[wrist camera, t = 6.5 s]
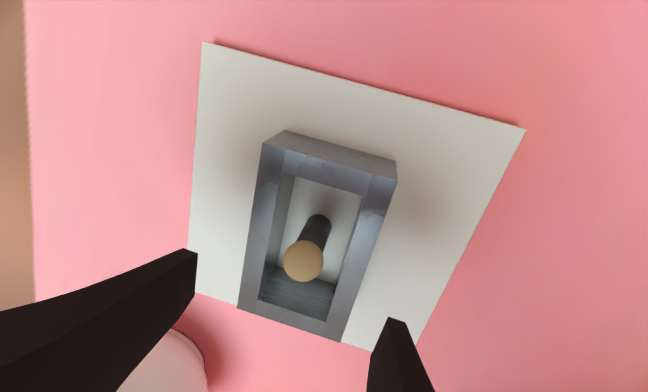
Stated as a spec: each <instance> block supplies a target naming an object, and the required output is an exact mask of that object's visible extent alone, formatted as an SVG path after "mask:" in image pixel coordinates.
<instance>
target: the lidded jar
mask: <svg viewBox="0 0 648 392" xmlns="http://www.w3.org/2000/svg"><path fill="white" fill-rule="evenodd" d="M116 392H208V386H207V379H206V375H205V371H204V359H203V356H202V354H201V352H200V350H199V349H198V347H197V346H196V345H195V344H194V343H193V342H192V341H191V340H190V339H189V338H188V337H187V336H185V335H184V334H182V333H180V332H179V331H177V330H175V329H172V328H170V329H169V331H168V332H167V333H166V334H165V335H164V336H163V337H162V339H161V340H160V341H159V342H158V343H157V344H156V345H155V347H154V348H153V349H152V350H151V351H150V352H149V353H148V355H147V356H146V357H145V358H144V359H143V360H142V361H141V362H140V364H139V365H138V366H137V367H136V368H135V369H134V370H133V372H132V373H131V374H130V375H129V376H128V377H127V379H126V380H125V381H124V382H123V384H122V385H121V386H120V387H119V388H118V390H117V391H116Z"/></svg>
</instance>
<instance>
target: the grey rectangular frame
mask: <svg viewBox="0 0 648 392" xmlns="http://www.w3.org/2000/svg"><path fill="white" fill-rule="evenodd" d="M295 176H296V177H300V178H303V179H306V180H310V181H313V182H317V183H320V184H323V185H327V186H330V187H334V188H337V189H341V190H344V191H347V192H351V193H354V194H358V195H361V196H363V197H362V200H361V203H360V206H359V210H358V213H357V216H356V219H355V222H354V225H353V229H352V232H351V235H350V238H349V241H348V245H347V248H346V251H345V254H344V257H343V260H342V264H341V267H340V270H339V273H338V276H337V280H336V283H335V284H333V283H330V282H327V281H324V280H321V279H317V278H314V279H312V280H310V281H306V282H300V281H296V280H294V279H292V278H291V277H289V275H288V274H287V273H286V271H285V269H284V268H283V267H280V266H277V262H278V258H279V253H280V248H281V243H282V238H283V234H284V229H285V224H286V219H287V215H288V210H289V205H290V200H291V195H292V191H293V186H294V181H295ZM397 182H398V177H397V167H396V161H394V160H391V159H387V158H384V157H380V156H376V155H373V154H369V153H366V152H362V151H359V150H355V149H352V148H348V147H344V146H341V145H337V144H334V143H330V142H327V141H323V140H319V139H316V138H312V137H309V136H305V135H302V134H298V133H294V132H291V131H287V130H283V131H282V132H280V133H278V134H276V135H275V136H273V137H271V138H269V139H268V140H266V141H264V142H262V147H261V154H260V160H259V167H258V173H257V180H256V186H255V193H254V199H253V206H252V212H251V219H250V225H249V232H248V238H247V244H246V251H245V257H244V264H243V270H242V277H241V283H240V290H239V296H238V303H237V308H238V309H241V310H244V311H247V312H250V313H253V314H256V315H259V316H262V317H265V318H268V319H271V320H274V321H277V322H280V323H283V324H286V325H289V326H292V327H295V328H298V329H301V330H304V331H307V332H310V333H313V334H316V335H319V336H322V337H325V338H328V339H331V340H334V341H337V342H341V339H342V336H343V333H344V330H345V328H346V325H347V322H348V319H349V317H350V314H351V311H352V308H353V305H354V303H355V300H356V297H357V294H358V291H359V289H360V286H361V283H362V280H363V277H364V275H365V272H366V269H367V266H368V263H369V261H370V258H371V255H372V252H373V249H374V247H375V244H376V241H377V238H378V235H379V233H380V230H381V227H382V224H383V222H384V219H385V216H386V213H387V210H388V208H389V205H390V202H391V199H392V196H393V194H394V191H395V188H396V185H397Z"/></svg>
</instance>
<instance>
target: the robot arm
mask: <svg viewBox="0 0 648 392" xmlns="http://www.w3.org/2000/svg"><path fill="white" fill-rule="evenodd" d="M197 262H198V253H196V252H193V251H190V250H187V249H184V248H182V249H180V250H177V251H175V252H172V253H170V254H168V255H165V256H163V257H161V258H158V259H156V260H154V261H151V262H149V263H147V264H144V265H142V266H140V267H137V268H135V269H132V270H130V271H128V272H125V273H123V274H120V275H117V276H115V277H112V278H109V279H107V280H104V281H101V282H99V283H96V284H93V285H91V286H88V287H85V288H82V289H79V290H76V291H73V292H70V293H67V294H64V295H60V296H57V297H54V298H50V299H47V300H43V301H40V302H36V303H32V304H28V305H24V306H20V307H16V308H12V309H8V310H4V311H0V392H116V391H117V390H118V388H119V387H120V386H121V385H122V384H123V382H124V381H125V380H126V379H127V377H128V376H129V375H130V374H131V373H132V372H133V370H134V369H135V368H136V367H137V366H138V365H139V364H140V362H141V361H142V360H143V359H144V358H145V357H146V356H147V355H148V353H149V352H150V351H151V350H152V349H153V348H154V347H155V345H156V344H157V343H158V342H159V341H160V340H161V339H162V337H163V336H164V335H165V334H166V333H167V332H168V331H169V329H170V328H171V327H172V326H173V325H174V324H175V322H176V321H177V320H178V319H179V317H180V316H181V315H182V313H183V312H184V310H185V309H186V307H187V306H188V304H189V303H190V301H191V300H192V298H193V297H194V295H195V284H196V273H197ZM367 392H435V390H434V388H433V386H432V384H431V382H430V379H429V377H428V375H427V373H426V371H425V368H424V366H423V364H422V362H421V359H420V357H419V354H418V352H417V350H416V347H415V345H414V342H413V340H412V337H411V335H410V332H409V329H408V327H407V325H406V323H405V322H403V321H400V320H397V319H394V318H391V317H388V318H387V320H386V323H385V325H384V327H383V329H382V332H381V334H380V336H379V338H378V341H377V343H376V345H375V348H374V350H373V352H372V354H371V357H370V365H369V372H368V380H367Z"/></svg>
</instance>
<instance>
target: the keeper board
mask: <svg viewBox="0 0 648 392" xmlns="http://www.w3.org/2000/svg"><path fill="white" fill-rule="evenodd" d="M283 130H287V131H291V132H294V133H298V134H302V135H305V136H309V137H312V138H316V139H319V140H323V141H327V142H330V143H334V144H337V145H341V146H344V147H348V148H352V149H355V150H359V151H362V152H366V153H369V154H373V155H376V156H380V157H384V158H387V159H391V160H394V161H396V167H397V177H398V182H397V185H396V188H395V191H394V194H393V196H392V199H391V202H390V205H389V208H388V210H387V213H386V216H385V219H384V222H383V224H382V227H381V230H380V233H379V235H378V238H377V241H376V244H375V247H374V249H373V252H372V255H371V258H370V261H369V263H368V266H367V269H366V272H365V275H364V277H363V280H362V283H361V286H360V289H359V291H358V294H357V297H356V300H355V303H354V305H353V308H352V311H351V314H350V317H349V319H348V322H347V325H346V328H345V330H344V333H343V336H342V339H341V342H344V343H347V344H350V345H353V346H356V347H359V348H362V349H365V350H368V351H371V352H373V350H374V348H375V345H376V343H377V341H378V338H379V336H380V334H381V332H382V329H383V327H384V325H385V323H386V320H387V318H388V317H391V318H394V319H397V320H400V321H403V322H405V323H406V325H407V327H408V329H409V332H410V335H411V337H412V340H413V342H414V345H416V343H417V341H418V339H419V337H420V335H421V334H422V332H423V330H424V328H425V326H426V324H427V322H428V320H429V318H430V316H431V314H432V312H433V310H434V308H435V306H436V304H437V303H438V301H439V299H440V297H441V295H442V293H443V291H444V289H445V287H446V285H447V283H448V281H449V279H450V277H451V275H452V273H453V271H454V270H455V268H456V266H457V264H458V262H459V260H460V258H461V256H462V254H463V252H464V250H465V248H466V246H467V244H468V242H469V240H470V239H471V237H472V235H473V233H474V231H475V229H476V227H477V225H478V223H479V221H480V219H481V217H482V215H483V213H484V211H485V209H486V207H487V206H488V204H489V202H490V200H491V198H492V196H493V194H494V192H495V190H496V188H497V186H498V184H499V182H500V180H501V178H502V176H503V174H504V173H505V171H506V169H507V167H508V165H509V163H510V161H511V159H512V157H513V155H514V153H515V151H516V149H517V147H518V145H519V143H520V142H521V140H522V138H523V136H524V134H525V132H526V129H524V128H521V127H519V126H516V125H512V124H509V123H505V122H501V121H498V120H494V119H490V118H487V117H483V116H479V115H475V114H472V113H468V112H464V111H461V110H457V109H453V108H450V107H446V106H442V105H439V104H435V103H431V102H428V101H424V100H420V99H417V98H413V97H409V96H406V95H402V94H398V93H395V92H391V91H387V90H383V89H380V88H376V87H372V86H369V85H365V84H361V83H358V82H354V81H350V80H347V79H343V78H339V77H336V76H332V75H328V74H325V73H321V72H317V71H314V70H310V69H306V68H303V67H299V66H295V65H291V64H288V63H284V62H280V61H277V60H273V59H269V58H266V57H262V56H258V55H255V54H251V53H247V52H244V51H240V50H236V49H233V48H229V47H225V46H222V45H218V44H214V43H209V42H203V41H202V50H201V64H200V78H199V92H198V106H197V121H196V135H195V149H194V163H193V177H192V191H191V205H190V220H189V234H188V248H187V250H190V251H193V252H196V253H198V262H197V273H196V284H195V292H198V293H201V294H204V295H206V296H209V297H212V298H215V299H218V300H221V301H224V302H227V303H230V304H233V305H236V306H237V303H238V296H239V290H240V283H241V277H242V270H243V264H244V257H245V251H246V244H247V238H248V232H249V225H250V219H251V212H252V206H253V199H254V193H255V186H256V180H257V173H258V167H259V160H260V154H261V147H262V142H264V141H266V140H268V139H269V138H271V137H273V136H275V135H276V134H278V133H280V132H282V131H283ZM362 197H363V196H361V195H358V194H354V193H351V192H347V191H344V190H341V189H337V188H334V187H330V186H327V185H323V184H320V183H317V182H313V181H310V180H306V179H303V178H300V177H296V176H295V181H294V186H293V191H292V195H291V200H290V205H289V210H288V215H287V219H286V224H285V229H284V234H283V238H282V243H281V248H280V253H279V258H278V262H277V266H280V267H283V268H284V269H285V271H286V273H287V274H288V275H289V277H291V278H292V279H294V280H296V281H300V282H306V281H310V280H312V279H314V278H317V279H321V280H324V281H327V282H330V283H333V284H335V283H336V280H337V276H338V273H339V270H340V267H341V264H342V260H343V257H344V254H345V251H346V248H347V245H348V241H349V238H350V235H351V232H352V229H353V225H354V222H355V219H356V216H357V213H358V210H359V206H360V203H361V200H362Z"/></svg>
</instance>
